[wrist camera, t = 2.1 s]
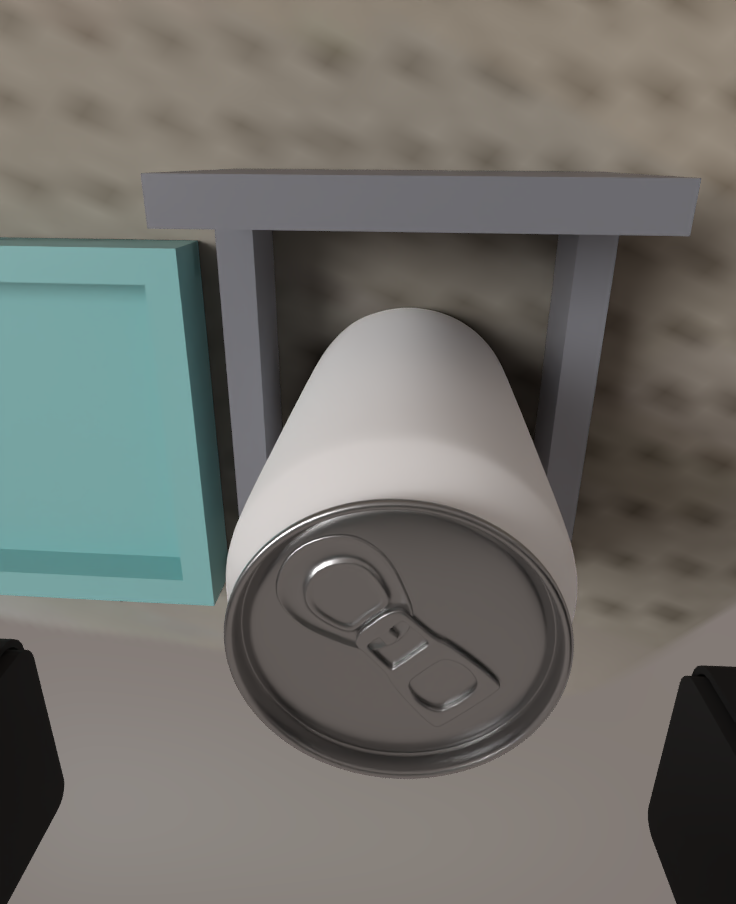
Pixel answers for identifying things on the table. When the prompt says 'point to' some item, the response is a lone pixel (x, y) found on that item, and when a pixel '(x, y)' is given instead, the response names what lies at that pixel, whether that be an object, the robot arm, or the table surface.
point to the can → (402, 560)
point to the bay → (421, 210)
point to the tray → (107, 423)
